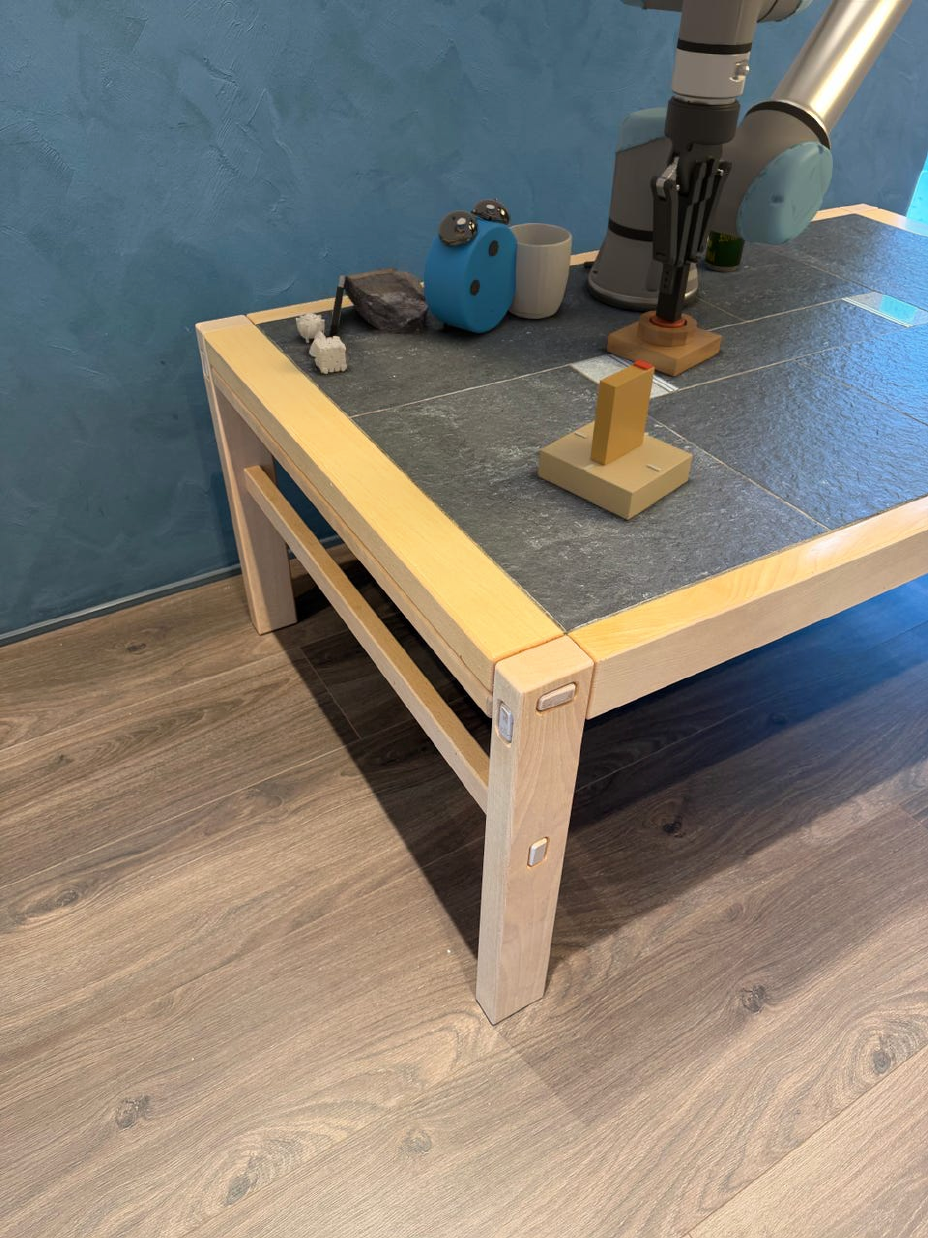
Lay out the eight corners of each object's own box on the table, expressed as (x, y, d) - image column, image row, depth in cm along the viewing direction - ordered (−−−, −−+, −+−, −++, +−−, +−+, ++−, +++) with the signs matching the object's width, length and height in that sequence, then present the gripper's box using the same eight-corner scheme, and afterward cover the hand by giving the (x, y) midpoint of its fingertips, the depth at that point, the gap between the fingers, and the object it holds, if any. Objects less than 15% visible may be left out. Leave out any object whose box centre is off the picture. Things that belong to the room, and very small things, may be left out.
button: (643, 332, 111) (645, 318, 110) (661, 323, 113) (664, 310, 112) (670, 342, 109) (672, 327, 108) (688, 333, 111) (691, 319, 110)
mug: (576, 306, 124) (583, 230, 117) (547, 328, 118) (552, 249, 111) (495, 288, 129) (497, 214, 122) (463, 308, 123) (464, 232, 116)
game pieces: (348, 371, 107) (346, 345, 105) (321, 375, 106) (319, 349, 104) (321, 331, 116) (319, 307, 113) (295, 335, 115) (293, 310, 112)
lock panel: (536, 476, 89) (539, 448, 87) (599, 441, 95) (603, 413, 93) (627, 520, 84) (631, 491, 82) (688, 480, 89) (694, 452, 87)
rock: (327, 309, 120) (326, 268, 116) (390, 293, 126) (391, 254, 123) (400, 344, 112) (402, 301, 109) (463, 325, 119) (467, 284, 116)
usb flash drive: (338, 326, 112) (330, 325, 112) (333, 354, 117) (326, 352, 117) (346, 275, 116) (339, 273, 116) (342, 303, 121) (334, 302, 120)
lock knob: (604, 465, 85) (615, 384, 80) (589, 458, 86) (599, 377, 81) (642, 444, 89) (655, 364, 83) (627, 437, 90) (639, 358, 84)
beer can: (731, 259, 140) (748, 175, 132) (744, 271, 136) (763, 185, 128) (698, 260, 139) (713, 176, 132) (711, 272, 135) (727, 186, 128)
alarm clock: (482, 306, 123) (485, 188, 113) (520, 317, 120) (526, 197, 111) (422, 337, 115) (420, 213, 105) (461, 349, 112) (462, 223, 103)
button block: (606, 351, 113) (610, 319, 110) (652, 329, 118) (657, 299, 116) (673, 376, 107) (679, 344, 105) (718, 352, 113) (725, 321, 110)
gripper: (701, 110, 89) (663, 341, 104) (768, 94, 97) (723, 311, 112) (639, 98, 93) (611, 322, 108) (708, 84, 100) (672, 295, 116)
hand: (668, 316), depth 110 cm, fingers closed
